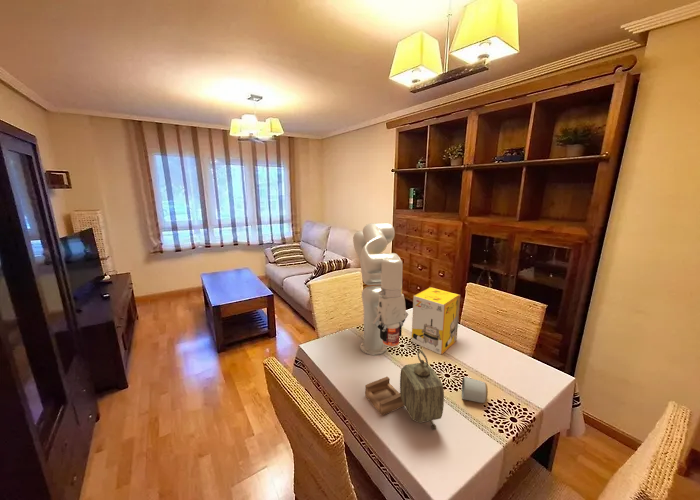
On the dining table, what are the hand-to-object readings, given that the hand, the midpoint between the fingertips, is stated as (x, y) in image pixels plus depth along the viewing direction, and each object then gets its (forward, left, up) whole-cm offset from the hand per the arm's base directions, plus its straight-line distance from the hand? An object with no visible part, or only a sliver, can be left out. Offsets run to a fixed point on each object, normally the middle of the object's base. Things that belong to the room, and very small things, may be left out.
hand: (390, 336), depth 105 cm
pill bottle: (0, 0, -3) cm, 3 cm away
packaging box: (-17, +40, -22) cm, 48 cm away
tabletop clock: (+17, 0, -22) cm, 28 cm away
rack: (+4, -5, -22) cm, 23 cm away
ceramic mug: (+18, +25, -22) cm, 38 cm away
